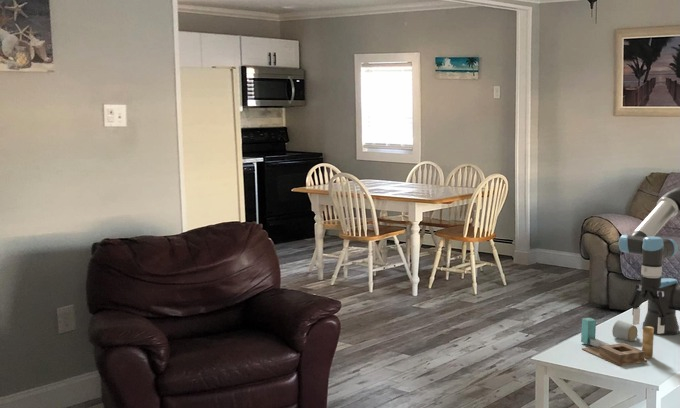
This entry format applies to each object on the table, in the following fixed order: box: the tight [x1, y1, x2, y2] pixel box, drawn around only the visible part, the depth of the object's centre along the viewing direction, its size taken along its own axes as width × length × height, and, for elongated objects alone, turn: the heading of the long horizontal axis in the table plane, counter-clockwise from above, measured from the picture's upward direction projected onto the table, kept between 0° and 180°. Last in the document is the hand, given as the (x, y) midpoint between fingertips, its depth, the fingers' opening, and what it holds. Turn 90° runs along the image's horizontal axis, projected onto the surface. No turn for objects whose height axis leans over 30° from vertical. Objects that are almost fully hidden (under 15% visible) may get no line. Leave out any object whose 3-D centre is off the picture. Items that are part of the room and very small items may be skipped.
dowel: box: [641, 326, 655, 359], centre depth 322 cm, size 4×4×12 cm
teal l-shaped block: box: [580, 317, 616, 350], centre depth 333 cm, size 4×18×10 cm, turn 22°
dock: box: [581, 342, 648, 367], centre depth 325 cm, size 14×22×4 cm, turn 22°
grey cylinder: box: [611, 320, 639, 342], centre depth 347 cm, size 11×8×8 cm
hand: (648, 328), depth 321 cm, fingers open, 13 cm apart
